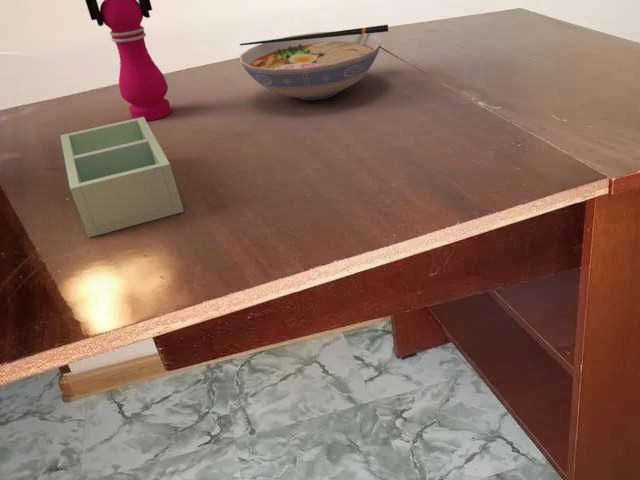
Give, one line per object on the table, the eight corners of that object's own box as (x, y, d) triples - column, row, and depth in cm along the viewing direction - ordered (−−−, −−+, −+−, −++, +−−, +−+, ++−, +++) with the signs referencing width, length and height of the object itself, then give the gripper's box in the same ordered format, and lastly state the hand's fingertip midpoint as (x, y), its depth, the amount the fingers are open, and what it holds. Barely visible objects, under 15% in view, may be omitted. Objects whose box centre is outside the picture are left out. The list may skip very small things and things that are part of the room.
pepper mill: (183, 108, 115) (148, -21, 104) (152, 124, 109) (112, -12, 99) (150, 106, 118) (113, -21, 107) (119, 121, 112) (76, -11, 102)
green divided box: (88, 238, 77) (69, 188, 74) (76, 178, 93) (60, 135, 90) (184, 211, 81) (169, 163, 78) (156, 158, 96) (143, 116, 93)
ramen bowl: (229, 124, 106) (216, 70, 102) (254, 80, 125) (244, 33, 121) (393, 109, 106) (387, 54, 101) (392, 67, 125) (388, 20, 121)
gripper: (144, -122, 102) (176, 7, 112) (15, -108, 96) (61, 26, 106) (151, -122, 96) (185, 14, 106) (15, -108, 90) (64, 35, 100)
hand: (123, 19), depth 106 cm, fingers closed on pepper mill, 6 cm apart
